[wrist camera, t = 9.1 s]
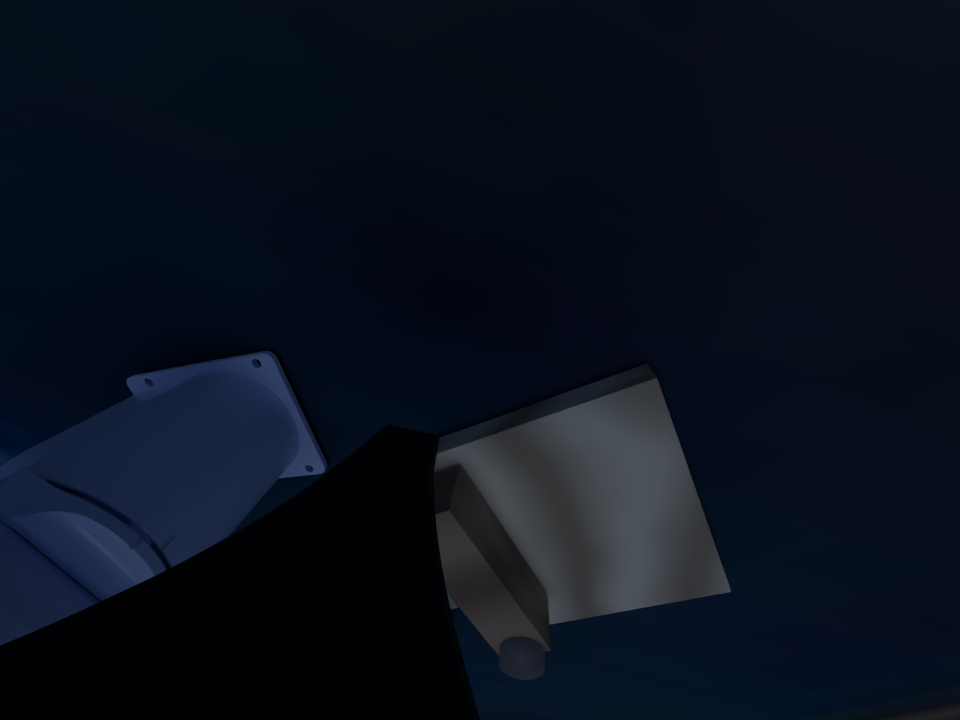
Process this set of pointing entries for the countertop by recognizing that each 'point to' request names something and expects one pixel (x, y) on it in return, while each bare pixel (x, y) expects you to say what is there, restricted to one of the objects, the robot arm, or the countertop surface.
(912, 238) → the countertop surface
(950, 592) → the countertop surface
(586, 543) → the stool seat
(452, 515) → the stool leg
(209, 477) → the robot arm
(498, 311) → the countertop surface
